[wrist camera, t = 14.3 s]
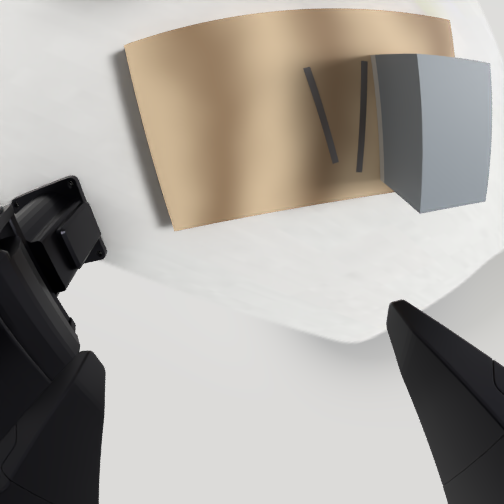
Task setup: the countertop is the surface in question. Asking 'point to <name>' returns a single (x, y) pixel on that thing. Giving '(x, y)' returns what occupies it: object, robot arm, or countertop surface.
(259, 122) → the oak board
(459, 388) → the robot arm
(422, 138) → the block
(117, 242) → the countertop surface
